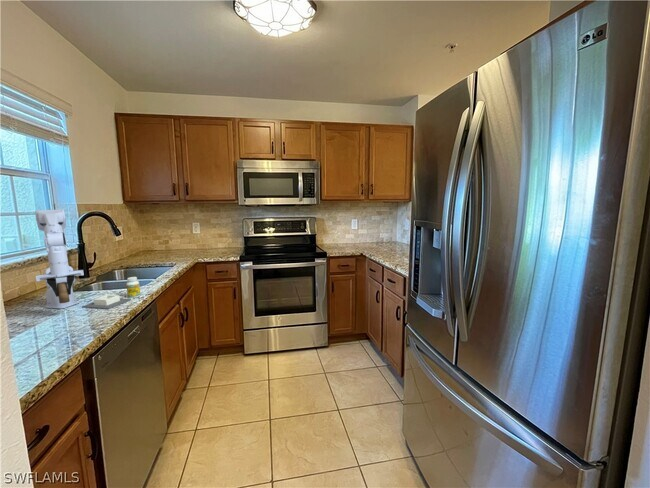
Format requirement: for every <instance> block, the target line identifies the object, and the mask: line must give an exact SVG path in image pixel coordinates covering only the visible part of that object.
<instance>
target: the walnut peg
mask: <svg viewBox="0 0 650 488" xmlns="http://www.w3.org/2000/svg"><path fill="white" fill-rule="evenodd" d="M57 290H58V296H59V303H67V302H69V301H70V299H69V294H68V286H67V282H61V283H57Z"/></svg>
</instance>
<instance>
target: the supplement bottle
mask: <svg viewBox="0 0 650 488" xmlns="http://www.w3.org/2000/svg"><path fill="white" fill-rule="evenodd" d="M126 281H127V282H126V285H125V286H126V293H127V294H126V295H127V299H135V298H138V297H141V287H140V281H139V280H138V276H131V277H127V279H126Z"/></svg>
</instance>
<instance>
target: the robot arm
mask: <svg viewBox="0 0 650 488" xmlns="http://www.w3.org/2000/svg"><path fill="white" fill-rule="evenodd" d="M34 215H35V219H36V220H35V221H36V224H37V228H38V230H39V231H42V232H44V235H43V242H44V248H45V250H46V253H47V257H48V264H49V267H48V268H46V269H45V271H44V274H40V275H39V274H38V275H35V282H41V281H45V285H46V288H47V289H46V291H45V298H46V304H47V305H46V306H45V308H46V309H60V310H61V309H65V308H68V307H72V306H74V305H77V304H80V301H75V296H74V289H73V285H74V284H75V283H76V277H78V276H84V275H85V274H84V273H85V272H84V269H79V270H74V268H73V266H70V265H69V260H68V252H67V245H68V242H67V235H66V233H65V231H63V230H65V229H66V227H67V226H66V221H67V220H66V212H65V210H64V209H62V208H61V209H35V211H34ZM61 282H67V286H68V294H69V299H70V301H69V302H67V303H59V296H58V290H57V283H61Z"/></svg>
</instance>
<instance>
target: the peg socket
mask: <svg viewBox="0 0 650 488" xmlns="http://www.w3.org/2000/svg"><path fill="white" fill-rule="evenodd" d="M130 301H132V298H121V297H120V295H117V294H105V295H103V296H99V297H97V298H94V299H93V302H91V303H88V304H85V305H82V306H81V308H82V309H83V308H84V309H96V310H97V309H98V310H110V309H113V308H115V307H118V306H121V305H123V304H125V303H128V302H130Z"/></svg>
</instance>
